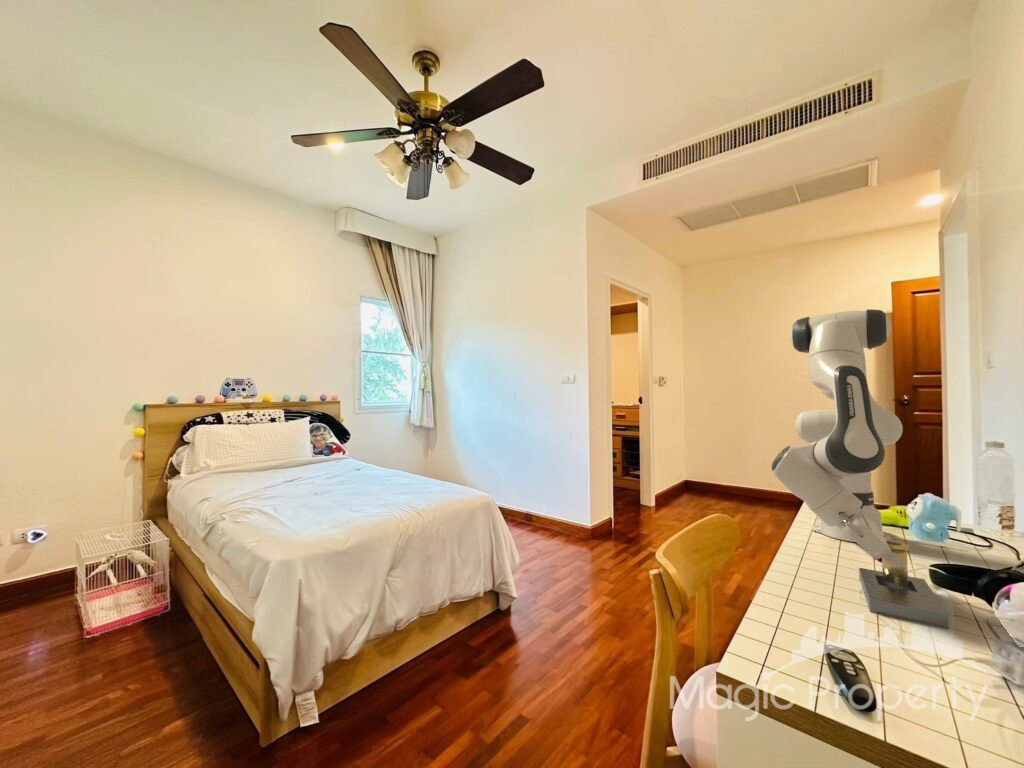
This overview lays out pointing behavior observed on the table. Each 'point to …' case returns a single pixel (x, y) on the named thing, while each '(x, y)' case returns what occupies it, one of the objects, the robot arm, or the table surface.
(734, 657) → the table surface
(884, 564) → the bushing
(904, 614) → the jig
